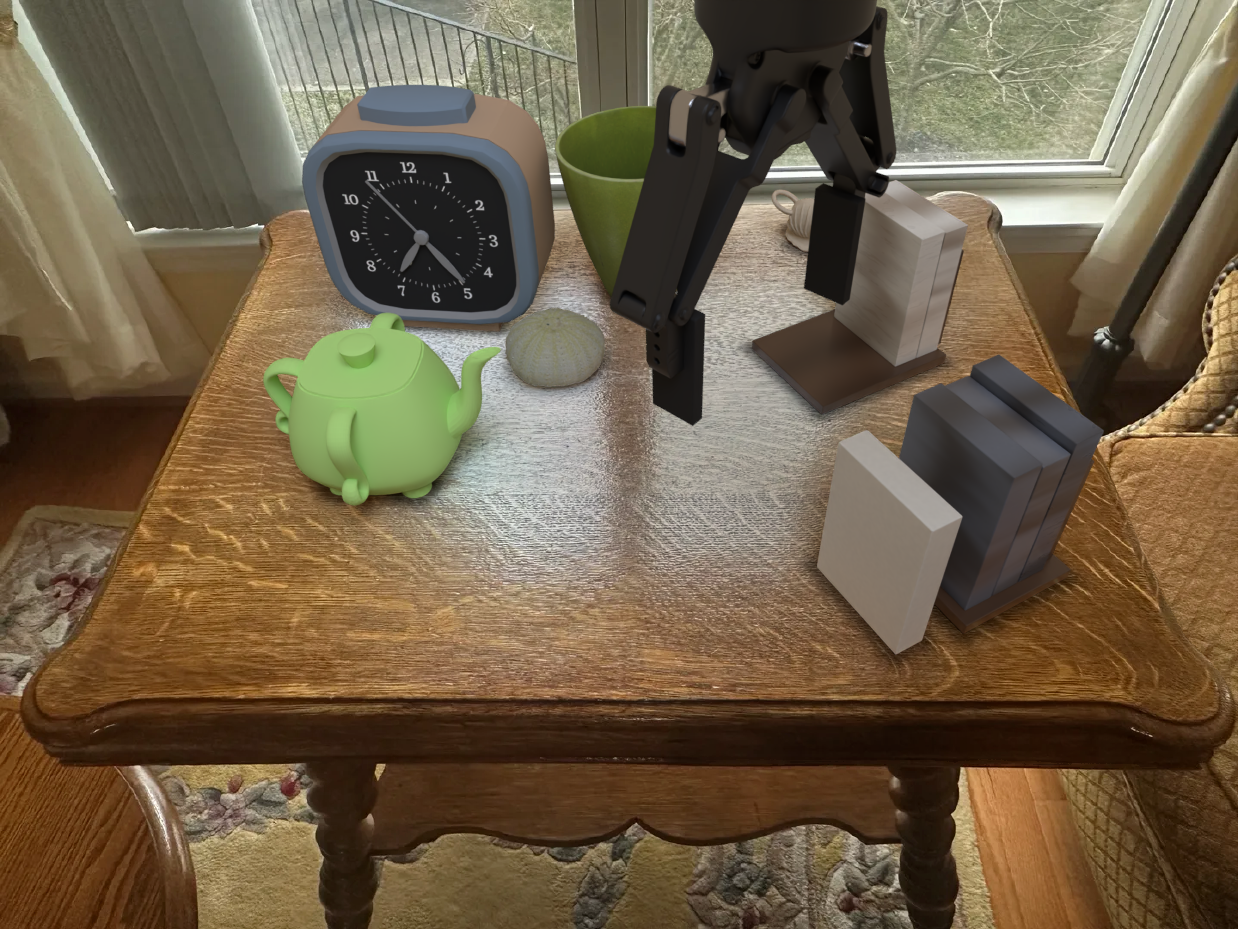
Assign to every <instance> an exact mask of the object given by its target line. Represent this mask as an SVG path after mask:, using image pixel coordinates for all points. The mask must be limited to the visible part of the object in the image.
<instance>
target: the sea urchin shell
mask: <svg viewBox="0 0 1238 929" xmlns="http://www.w3.org/2000/svg"><path fill="white" fill-rule="evenodd" d="M504 345H505V346H504V347H505V352H504V354H505V359H507V362H508V363H509V365H510V369H511V370H512V372H513V373H514V374H515V375H516V376H517V377H518V378H520V379H521V380H522V381H523V382H524V383H526V384H529V385H532V386H534V387H545V388H547V387H548V388H552V387H567V386H572V385H573V384H574V385H575V384H579V383H582V382H584V381H586V380H587V379H589V378H591V376H592V375H593V374H594V373H595V372H596V371H597V370H599V367H601V364H602V362H603V359H604V357H605V353H606V337H605V334H604V332H603V330H602V329H601V327H600V325H598V323H596V321H593V320H591V319H590V318H589V317H587V316H585V315H584V314H581V313H577V312H575V311H573V310H571V309H563V308H560V307H549V308H546V309H544V310H537V311H535V312H533V313H531V314H527V315H526V316H524V317H523V318H521V320H518V321H517V322H515V323H514V324H513V325H512V327H511V328H510V329H509V331H508V332H507V334H506V337H505V344H504Z"/></svg>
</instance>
